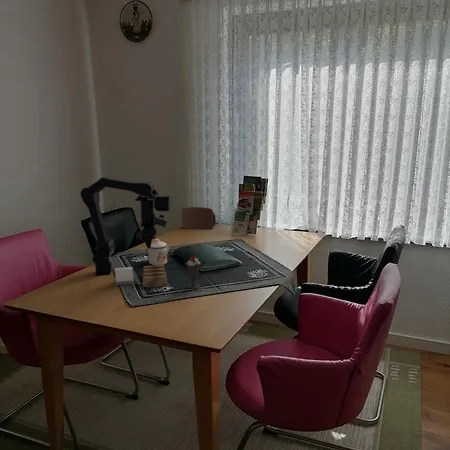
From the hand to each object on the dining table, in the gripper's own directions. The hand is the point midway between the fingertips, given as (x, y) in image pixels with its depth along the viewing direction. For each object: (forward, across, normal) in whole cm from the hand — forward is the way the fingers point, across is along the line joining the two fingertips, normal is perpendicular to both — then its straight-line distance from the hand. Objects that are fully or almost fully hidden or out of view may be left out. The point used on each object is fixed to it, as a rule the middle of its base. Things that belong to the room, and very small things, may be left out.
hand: (148, 245), depth 188 cm
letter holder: (+13, +80, -36) cm, 89 cm away
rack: (+13, -9, -2) cm, 16 cm away
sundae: (+13, -21, -17) cm, 30 cm away
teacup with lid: (+13, +16, -6) cm, 21 cm away
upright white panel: (+13, -9, +11) cm, 19 cm away
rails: (+13, -9, +11) cm, 19 cm away
